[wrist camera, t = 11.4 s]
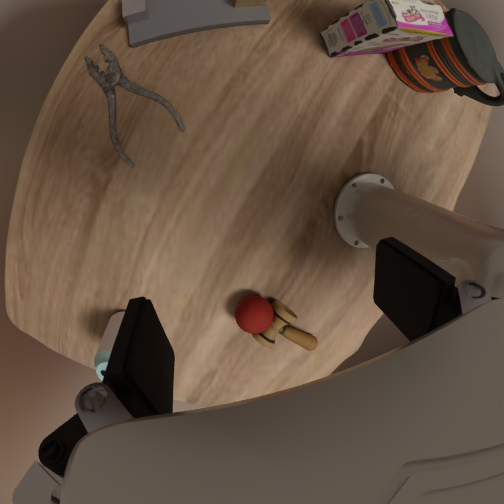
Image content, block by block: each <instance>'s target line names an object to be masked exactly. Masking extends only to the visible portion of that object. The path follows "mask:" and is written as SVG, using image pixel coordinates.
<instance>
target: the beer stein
mask: <svg viewBox="0 0 504 504" xmlns="http://www.w3.org/2000/svg"><path fill="white" fill-rule="evenodd" d="M444 15H445V17H446V19H447V21H448V24H449V26H450V28H451V31H452V34H453V36H451V37H446V38H441V39H436V40H432V41H427V42H423V43H418V44H414V45H410V46H406V47H403V48H399V49H396V50H393V51H390V52H387V53H386V54H387V57H388V60H389V62H390V65H391V67H392V68H393V70H394V72H395V73H396V74H397V76H398V77H399V78H400V79H401V80H402V81H403V82H405V83H406V84H407V85H409V86H410V87H411V88H412V89H414V90H416V91H418V92H422V93H433V92H441V91H446V90H449V89H450V88H453V89H454V93H456V94H458V95H459V96H463V95H466V96H468V97H470V98H472V99H474V100H476V101H479V102H481V103H484V104H487V105H490V106H501V105H504V70H503V68H502V66H501V64H500V63H499V62H498V61H497V58H496V54H495V51H494V48H493V46H492V43H491V41H490V39H489V37H488V36H487V34H486V32H485V31H484V29H483V28H482V27H481V26H480V24H479V23H478V22H477V21H476V20H475V19H474V18H473V17H472V16H470V15H469V14H468V13H466V12H464V11H461V10H457V9H456V8H452V9H450V11H447V12H444ZM486 83H495V85H496V86H497V88H498V90H499V92H500V95H499V96H497V97H492V96H489V95H487V94H485V93H484V92H482V91H481V90H480V89H479V88H478V87H477V85H484V84H486Z"/></svg>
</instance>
